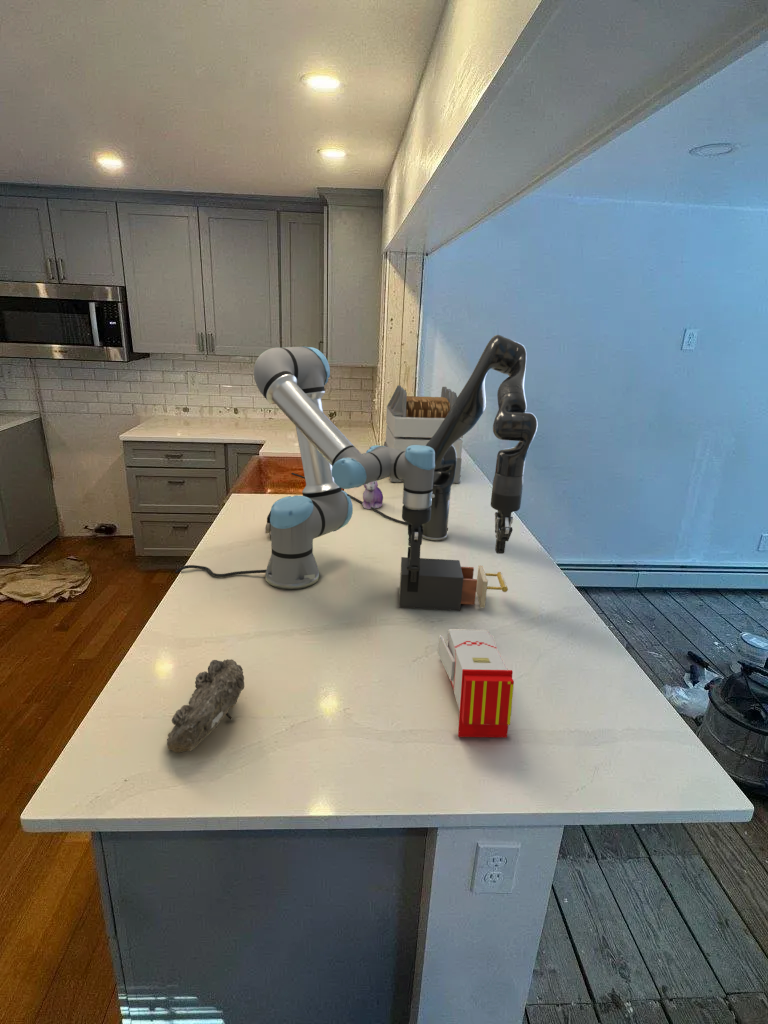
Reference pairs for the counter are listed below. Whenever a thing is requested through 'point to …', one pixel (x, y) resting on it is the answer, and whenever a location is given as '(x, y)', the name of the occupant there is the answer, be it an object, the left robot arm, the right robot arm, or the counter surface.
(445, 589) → the cabinet
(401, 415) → the transformer
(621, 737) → the counter surface
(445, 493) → the right robot arm
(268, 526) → the figurine character
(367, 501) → the figurine
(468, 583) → the drawer
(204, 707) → the fossil
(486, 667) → the toy
